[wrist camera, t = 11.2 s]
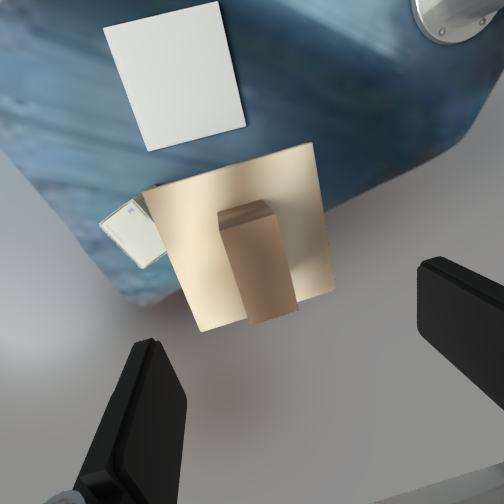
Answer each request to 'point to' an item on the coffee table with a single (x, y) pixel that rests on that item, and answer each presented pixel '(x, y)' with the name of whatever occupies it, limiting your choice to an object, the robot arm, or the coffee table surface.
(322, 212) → the lid
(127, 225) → the skincare box
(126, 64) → the mat
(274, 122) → the coffee table surface
